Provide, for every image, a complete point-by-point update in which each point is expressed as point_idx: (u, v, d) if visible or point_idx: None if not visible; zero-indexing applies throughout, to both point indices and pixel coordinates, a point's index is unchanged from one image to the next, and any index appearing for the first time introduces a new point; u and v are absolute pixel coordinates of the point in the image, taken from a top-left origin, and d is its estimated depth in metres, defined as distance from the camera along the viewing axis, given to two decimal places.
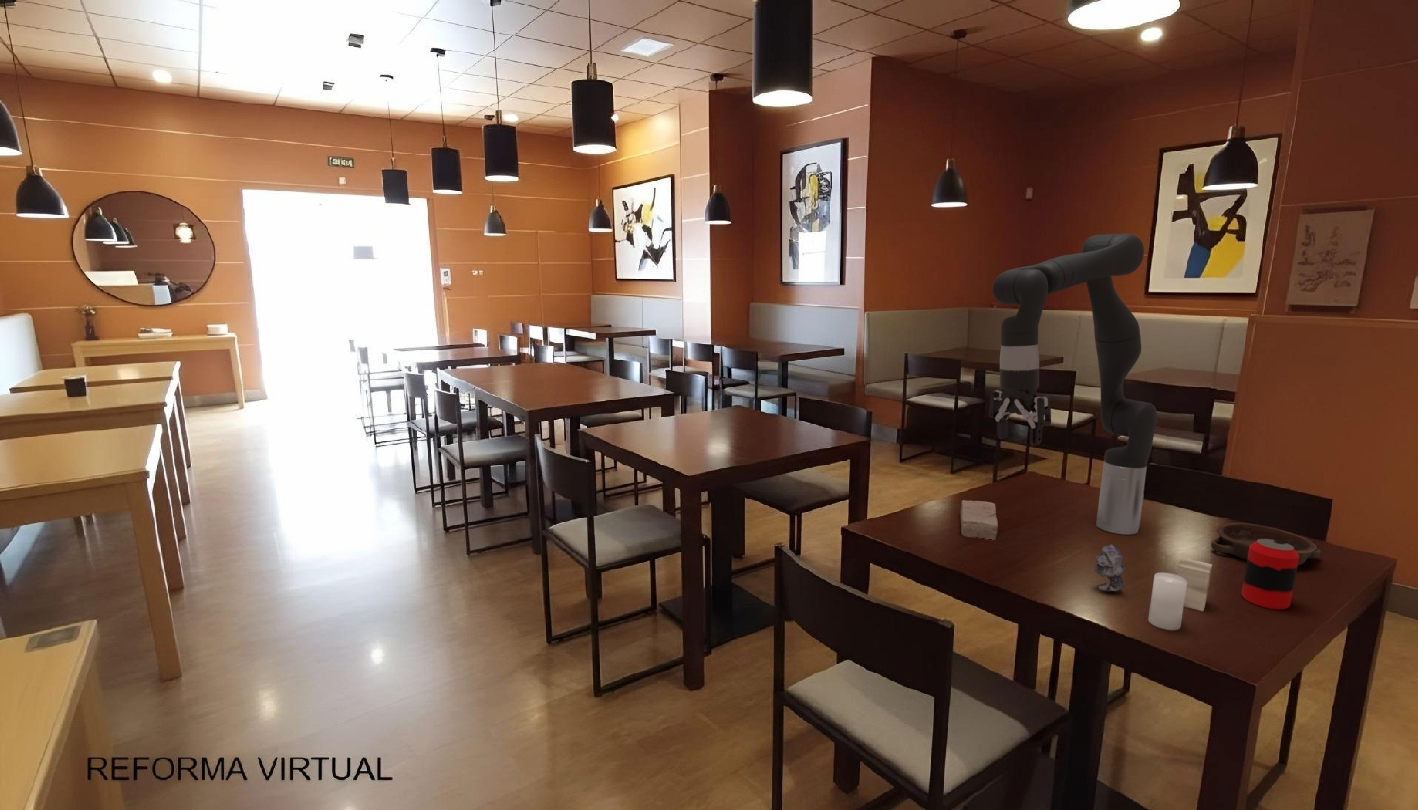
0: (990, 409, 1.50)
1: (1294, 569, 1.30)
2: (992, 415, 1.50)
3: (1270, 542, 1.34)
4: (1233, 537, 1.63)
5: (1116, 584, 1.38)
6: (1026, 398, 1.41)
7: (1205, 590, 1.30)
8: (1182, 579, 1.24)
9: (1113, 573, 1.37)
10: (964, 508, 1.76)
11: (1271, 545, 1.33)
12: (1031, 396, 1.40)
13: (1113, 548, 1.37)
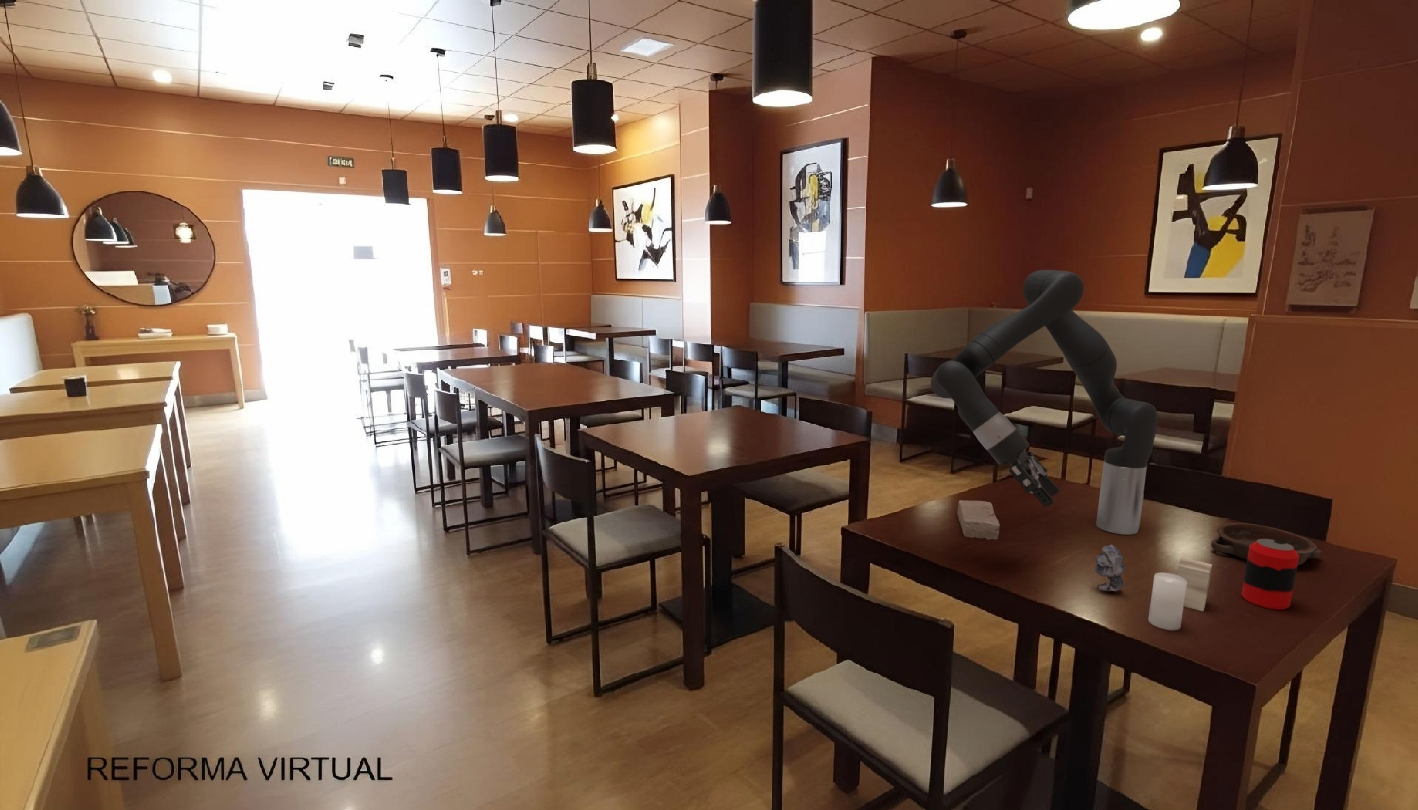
0: None
1: (1294, 569, 1.30)
2: None
3: (1270, 542, 1.34)
4: (1233, 537, 1.63)
5: (1116, 584, 1.38)
6: None
7: (1205, 590, 1.30)
8: (1182, 579, 1.24)
9: (1113, 573, 1.37)
10: (962, 508, 1.76)
11: (1271, 545, 1.33)
12: (1012, 466, 1.42)
13: (1113, 548, 1.37)
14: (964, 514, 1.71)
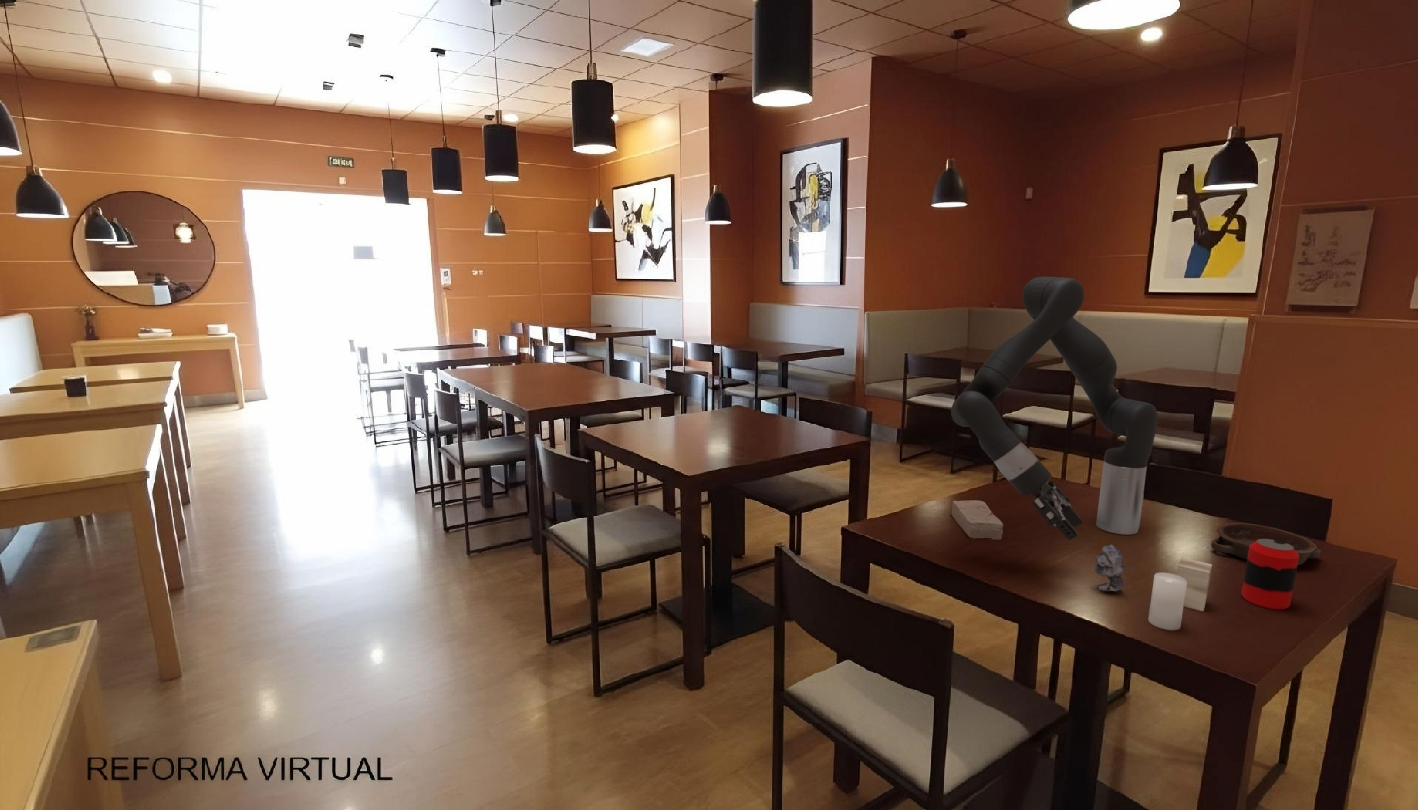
0: None
1: (1294, 569, 1.30)
2: None
3: (1270, 542, 1.34)
4: (1233, 537, 1.63)
5: (1116, 584, 1.38)
6: None
7: (1205, 590, 1.30)
8: (1182, 579, 1.24)
9: (1113, 573, 1.36)
10: (960, 509, 1.75)
11: (1271, 545, 1.33)
12: (1035, 497, 1.41)
13: (1113, 548, 1.37)
14: (965, 515, 1.71)
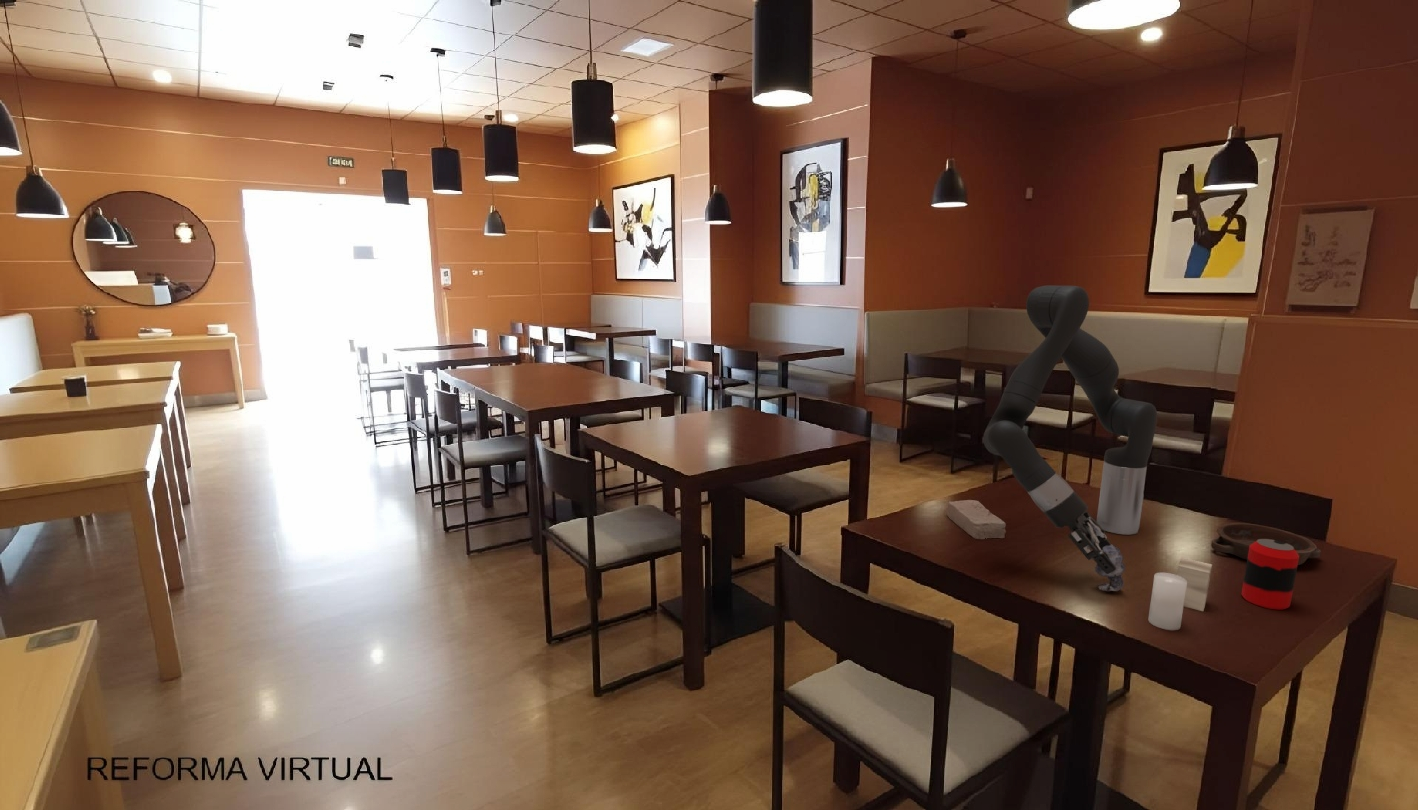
0: None
1: (1294, 569, 1.30)
2: None
3: (1270, 542, 1.34)
4: (1233, 537, 1.63)
5: (1116, 584, 1.38)
6: None
7: (1205, 590, 1.30)
8: (1182, 579, 1.24)
9: (1113, 573, 1.36)
10: (959, 509, 1.75)
11: (1271, 545, 1.33)
12: (1071, 530, 1.38)
13: (1113, 548, 1.37)
14: (967, 516, 1.70)
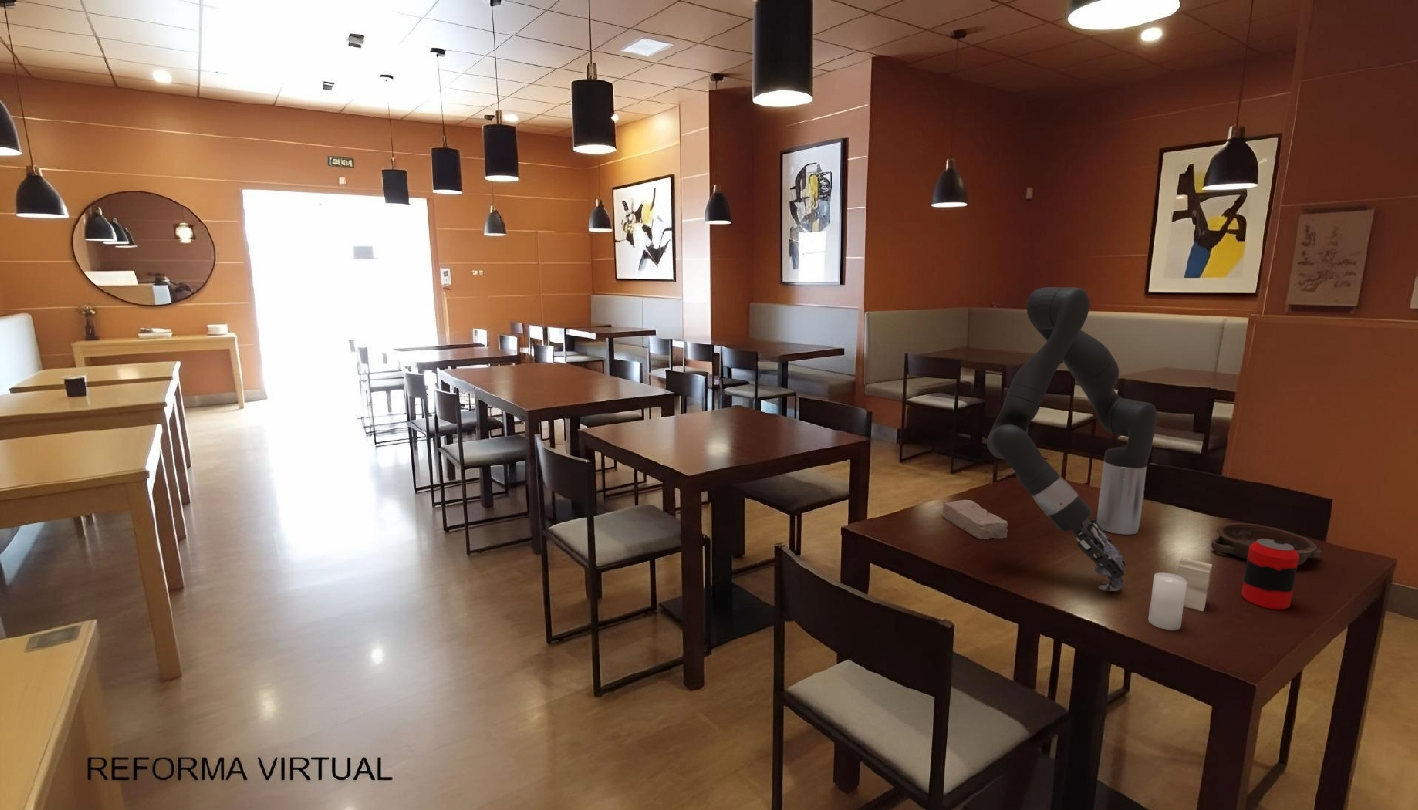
0: None
1: (1294, 569, 1.30)
2: None
3: (1270, 542, 1.34)
4: (1233, 537, 1.63)
5: (1116, 584, 1.38)
6: None
7: (1205, 590, 1.30)
8: (1182, 579, 1.24)
9: None
10: (958, 510, 1.74)
11: (1271, 545, 1.33)
12: (1077, 535, 1.37)
13: (1113, 548, 1.37)
14: (969, 517, 1.70)
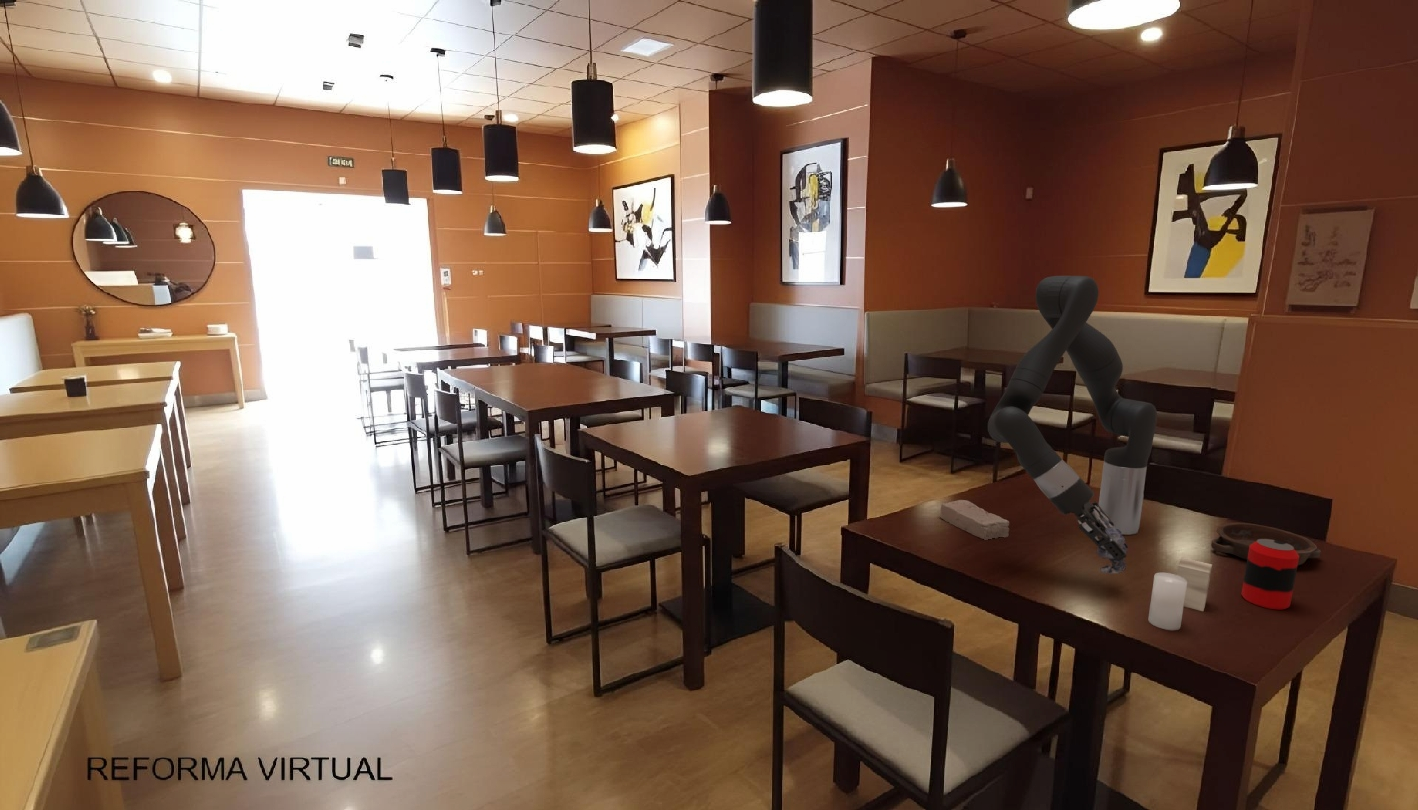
0: None
1: (1294, 569, 1.30)
2: None
3: (1270, 542, 1.34)
4: (1233, 537, 1.63)
5: (1118, 566, 1.38)
6: None
7: (1205, 590, 1.30)
8: (1182, 579, 1.24)
9: None
10: (958, 511, 1.74)
11: (1271, 545, 1.33)
12: (1078, 518, 1.37)
13: (1115, 530, 1.37)
14: (971, 517, 1.69)
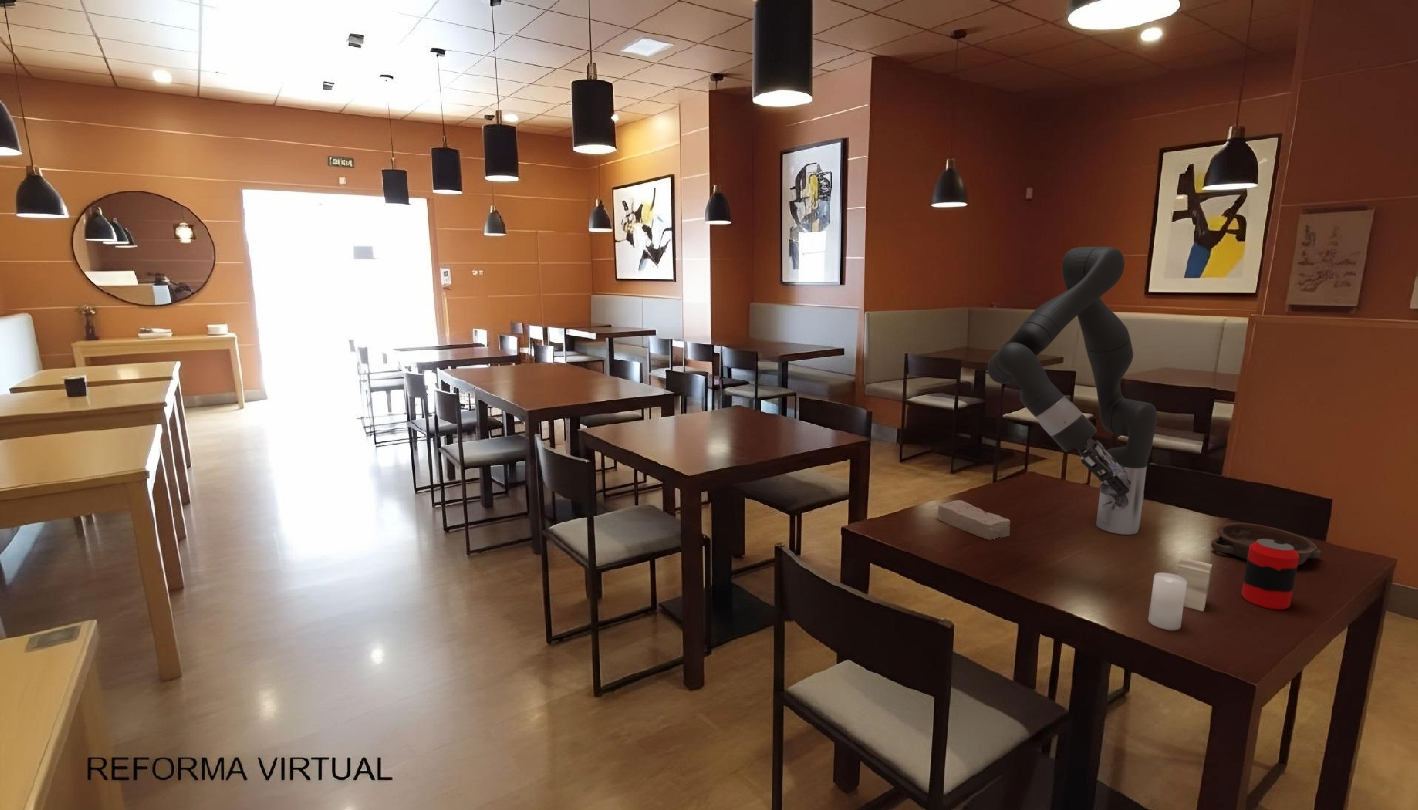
0: None
1: (1294, 569, 1.30)
2: None
3: (1270, 542, 1.34)
4: (1233, 537, 1.63)
5: (1121, 503, 1.36)
6: None
7: (1205, 590, 1.30)
8: (1182, 579, 1.24)
9: None
10: (958, 512, 1.73)
11: (1271, 545, 1.33)
12: (1081, 453, 1.36)
13: (1118, 466, 1.35)
14: (973, 518, 1.69)
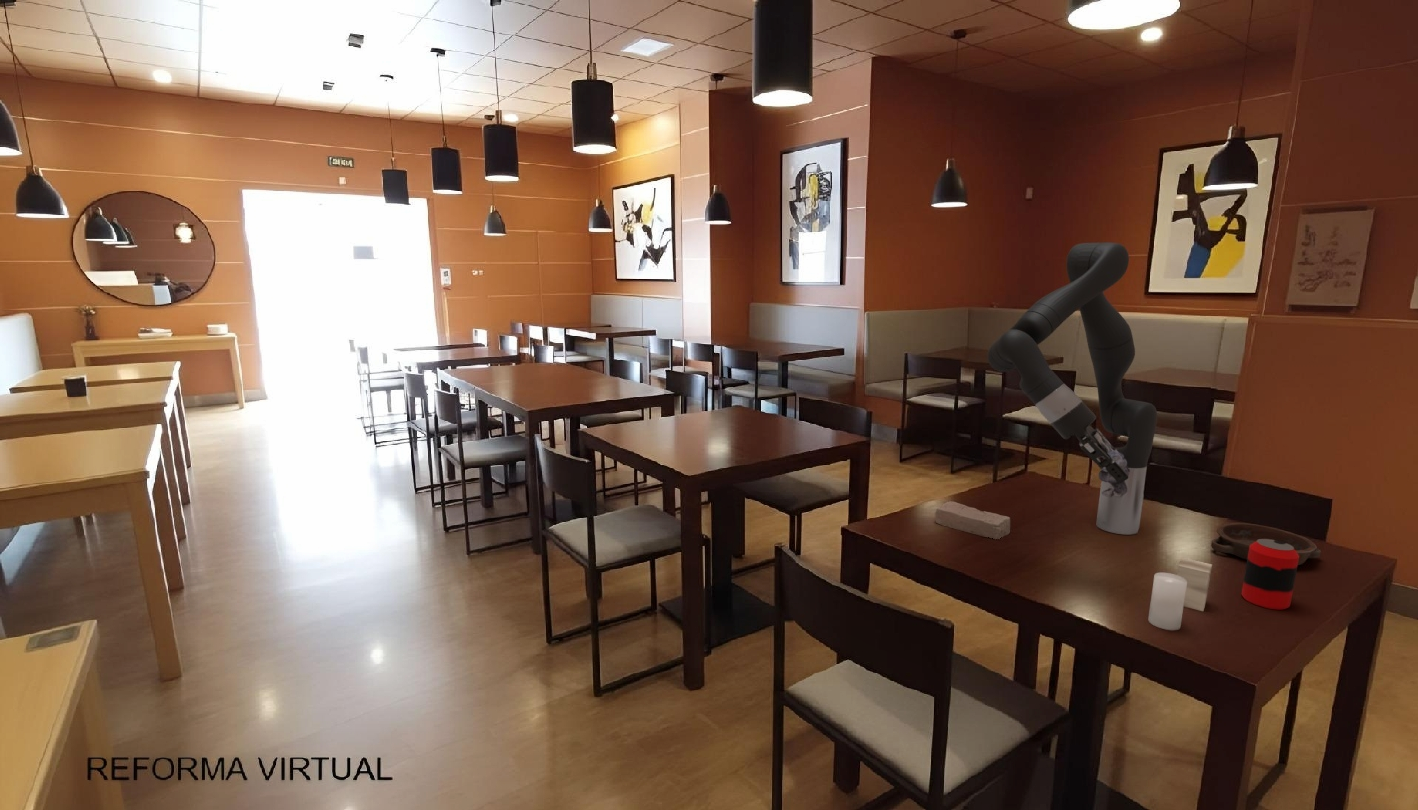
0: None
1: (1294, 569, 1.30)
2: None
3: (1270, 542, 1.34)
4: (1233, 537, 1.63)
5: (1120, 490, 1.37)
6: None
7: (1205, 590, 1.30)
8: (1182, 579, 1.24)
9: None
10: (959, 514, 1.71)
11: (1271, 545, 1.33)
12: (1080, 440, 1.36)
13: (1117, 453, 1.36)
14: (978, 519, 1.68)
